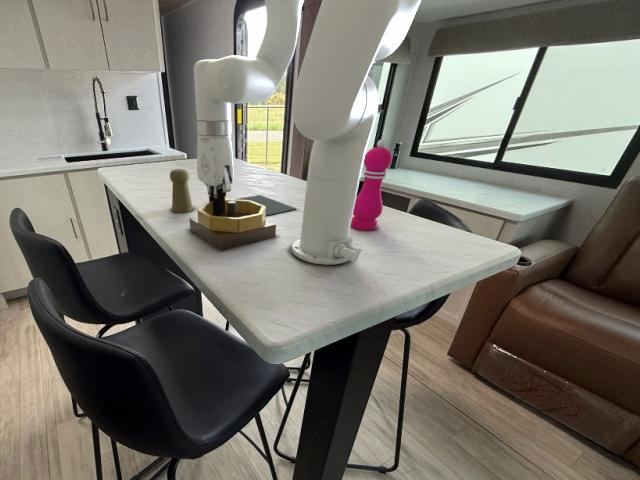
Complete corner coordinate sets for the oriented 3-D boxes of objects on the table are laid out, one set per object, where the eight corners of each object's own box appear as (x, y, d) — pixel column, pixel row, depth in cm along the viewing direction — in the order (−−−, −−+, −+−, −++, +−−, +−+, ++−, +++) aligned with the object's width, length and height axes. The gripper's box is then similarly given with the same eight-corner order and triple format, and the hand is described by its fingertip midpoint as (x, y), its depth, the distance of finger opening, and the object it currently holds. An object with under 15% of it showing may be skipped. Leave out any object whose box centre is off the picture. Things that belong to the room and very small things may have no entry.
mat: (296, 209, 94) (296, 208, 93) (245, 220, 85) (245, 219, 85) (259, 196, 106) (259, 195, 106) (212, 204, 98) (212, 203, 98)
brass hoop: (276, 223, 74) (277, 210, 72) (221, 236, 67) (220, 222, 65) (241, 207, 84) (241, 196, 83) (189, 217, 77) (188, 205, 76)
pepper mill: (382, 226, 82) (404, 139, 71) (370, 233, 77) (392, 142, 67) (356, 219, 86) (373, 137, 75) (343, 226, 82) (359, 139, 71)
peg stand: (275, 236, 75) (277, 204, 71) (220, 250, 68) (219, 216, 64) (240, 219, 86) (240, 190, 82) (190, 229, 79) (187, 199, 75)
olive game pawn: (195, 206, 95) (192, 167, 90) (190, 212, 90) (187, 171, 84) (175, 206, 96) (171, 167, 90) (169, 212, 91) (164, 171, 85)
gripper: (184, 128, 74) (190, 207, 84) (217, 133, 63) (220, 223, 73) (212, 126, 78) (215, 202, 87) (248, 131, 67) (246, 217, 77)
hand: (217, 211), depth 80 cm, fingers closed on brass hoop, 1 cm apart
